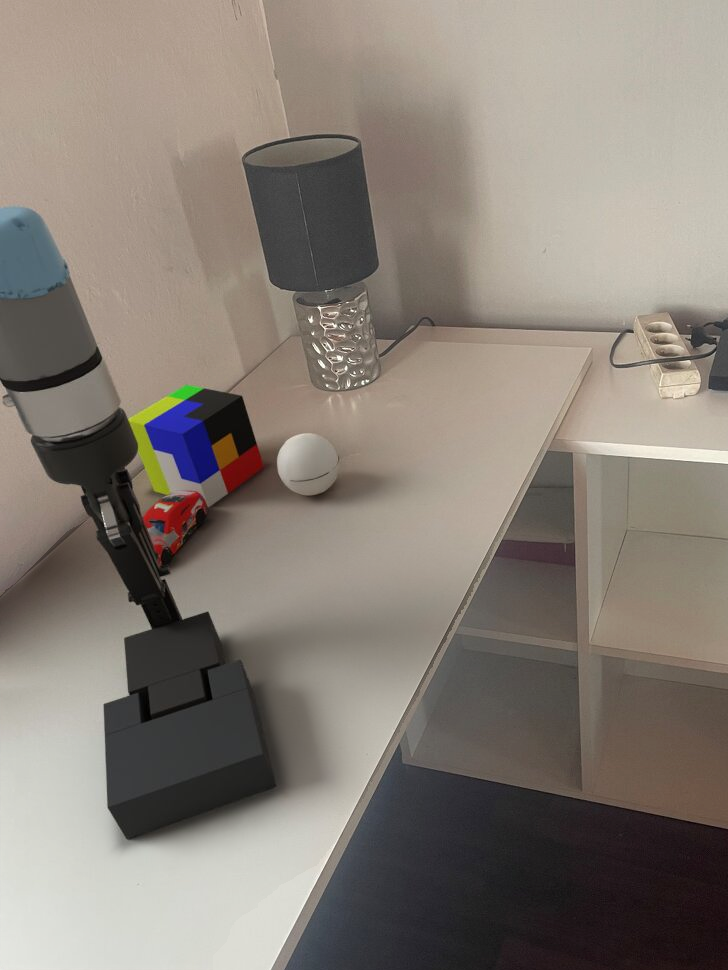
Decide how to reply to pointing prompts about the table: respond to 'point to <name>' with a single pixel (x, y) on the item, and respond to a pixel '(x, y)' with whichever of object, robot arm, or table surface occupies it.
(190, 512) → the race car
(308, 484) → the white sphere
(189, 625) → the tongue pad
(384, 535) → the table surface
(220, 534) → the table surface
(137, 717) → the notch pad
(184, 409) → the puzzle toy
